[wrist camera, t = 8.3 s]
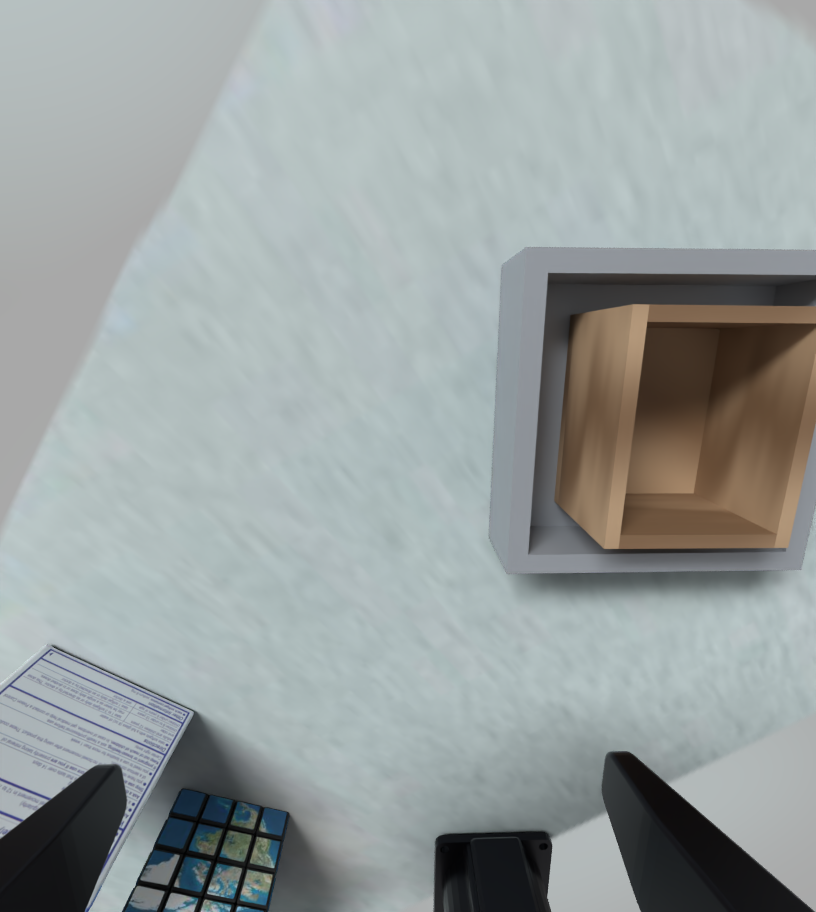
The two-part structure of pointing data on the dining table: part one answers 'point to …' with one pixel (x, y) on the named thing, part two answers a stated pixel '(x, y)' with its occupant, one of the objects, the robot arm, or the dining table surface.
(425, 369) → the dining table surface
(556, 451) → the grey crate
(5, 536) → the dining table surface
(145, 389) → the dining table surface
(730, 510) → the walnut crate
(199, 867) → the puzzle
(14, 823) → the medicine box
